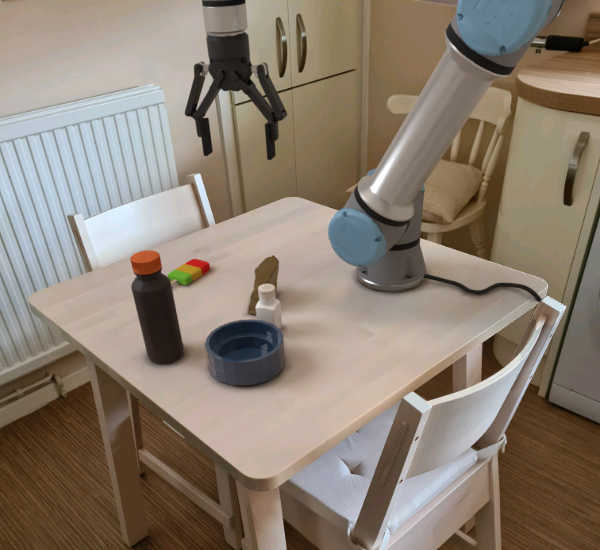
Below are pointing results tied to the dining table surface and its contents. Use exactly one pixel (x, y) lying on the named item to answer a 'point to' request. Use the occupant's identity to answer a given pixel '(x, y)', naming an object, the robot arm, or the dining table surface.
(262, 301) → the pepper shaker
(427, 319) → the dining table surface
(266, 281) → the rock
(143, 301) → the vinegar
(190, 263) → the popsicle
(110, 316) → the dining table surface
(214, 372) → the bowl
